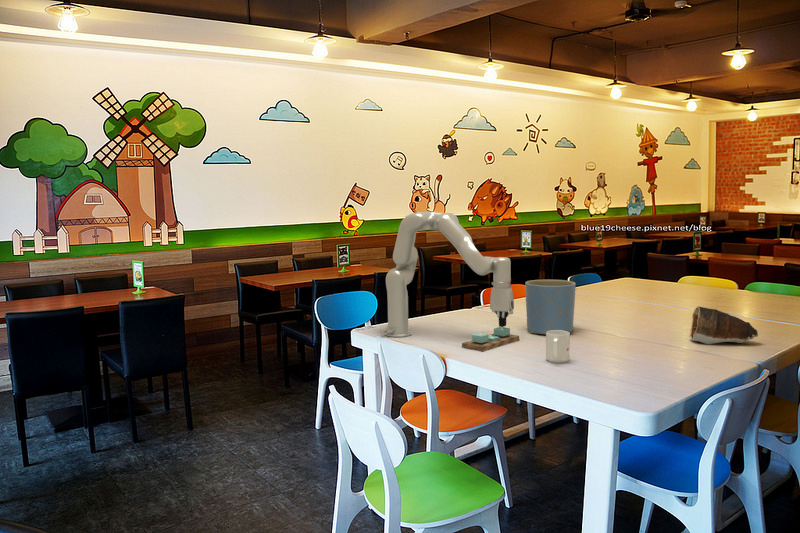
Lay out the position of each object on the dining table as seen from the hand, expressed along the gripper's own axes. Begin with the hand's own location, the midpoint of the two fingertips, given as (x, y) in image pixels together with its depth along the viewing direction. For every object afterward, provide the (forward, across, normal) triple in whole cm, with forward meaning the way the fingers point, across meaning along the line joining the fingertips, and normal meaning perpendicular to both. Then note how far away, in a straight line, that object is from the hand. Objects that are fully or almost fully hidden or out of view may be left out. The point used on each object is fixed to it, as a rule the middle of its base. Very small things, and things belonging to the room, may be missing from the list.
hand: (502, 326), depth 267 cm
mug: (+7, +36, -15) cm, 39 cm away
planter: (+7, +7, +29) cm, 30 cm away
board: (+6, 0, -8) cm, 10 cm away
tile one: (+4, 0, -16) cm, 17 cm away
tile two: (+6, 0, -8) cm, 10 cm away
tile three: (+4, 0, 0) cm, 4 cm away
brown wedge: (+8, +74, +57) cm, 93 cm away
